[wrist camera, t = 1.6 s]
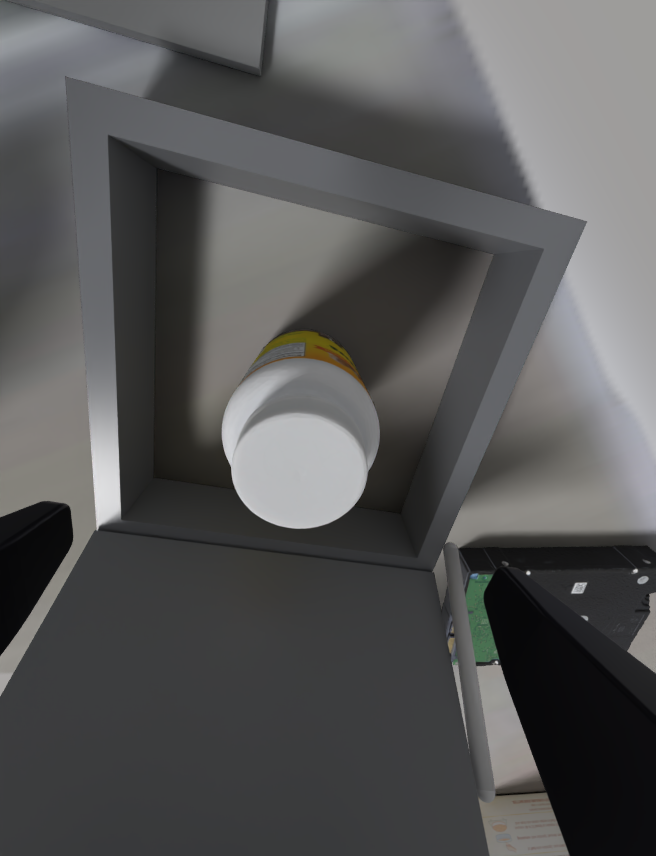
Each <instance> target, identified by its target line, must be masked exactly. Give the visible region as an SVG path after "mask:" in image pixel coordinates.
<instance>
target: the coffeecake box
mask: <svg viewBox="0 0 656 856" xmlns="http://www.w3.org/2000/svg"><path fill="white" fill-rule="evenodd" d="M478 799H479V797H478ZM479 804H480V810H481V815H482V820H483V825H484V830H485V835H486V840H487V845H488V850H489V855H490V856H569V853H568V850H567V848H566V845H565V842H564V839H563V837H562V834H561V831H560V828H559V826H558V823H557V820H556V817H555V815H554V812H553V809H552V807H551V804H550V801H549V798H548V796H547V793H533V794H518V795H503V796H495V798H494V800H493V801H492V802H490V803H485V802H483V801H482V800H480V799H479Z"/></svg>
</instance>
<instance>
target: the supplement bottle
mask: <svg viewBox="0 0 656 856" xmlns="http://www.w3.org/2000/svg"><path fill="white" fill-rule="evenodd" d="M379 441H380V427H379V420H378V415H377V412H376V409H375V406H374V403H373V401H372V399H371V397H370V395H369V393H368V391H367V389H366V387H365V385H364V383H363V381H362V379H361V377H360V375H359V373H358V371H357V369H356V367H355V365H354V363H353V361H352V360H351V358H350V356H349V354H348V353H347V351H346V350H345V349H344V348H343V347H342V346H341V345H340V344H339V343H338V342H337V341H336V340H334V339H333V338H332V337H330V336H328V335H326V334H324V333H321V332H318V331H314V330H305V329H302V330H293V331H289V332H286V333H284V334H281V335H279V336H278V337H276V338H274V339H273V340H272V341H270V342H269V343H268V344H267V345H266V346H265V347H264V348H263V350H262V351H261V352H260V354H259V355H258V357H257V358H256V360H255V361H254V363H253V364H252V366H251V367H250V369H249V370H248V372H247V373H246V375H245V376H244V378H243V379H242V381H241V382H240V384H239V386H238V387H237V388H236V390H235V391H234V393H233V395H232V396H231V398H230V400H229V403H228V405H227V407H226V410H225V413H224V417H223V422H222V442H223V447H224V451H225V454H226V457H227V459H228V462H229V464H230V466H231V473H232V480H233V484H234V486H235V489H236V491H237V493H238V495H239V497H240V498H241V500H242V501H243V503H244V504H245V505H246V506H247V507H248V508H249V509H250V510H251V511H252V512H253V513H254V514H256V515H257V516H259V517H260V518H262V519H264V520H266V521H268V522H270V523H272V524H275V525H278V526H282V527H287V528H296V529H301V528H303V529H305V528H313V527H318V526H321V525H325V524H328V523H330V522H332V521H334V520H336V519H338V518H340V517H341V516H343V515H344V514H345V513H347V512H348V511H349V510H350V509H351V508H352V507H353V506H354V505H355V504H356V502H357V501H358V500H359V498H360V497H361V495H362V493H363V491H364V488H365V485H366V482H367V476H368V471H369V469H370V468H371V466H372V464H373V462H374V460H375V457H376V454H377V451H378V447H379Z"/></svg>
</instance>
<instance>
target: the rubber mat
mask: <svg viewBox="0 0 656 856" xmlns="http://www.w3.org/2000/svg"><path fill="white" fill-rule="evenodd" d="M6 1H9V2H13V3H16V4H19V5H23V6H26V7H30V8H33V9H36V10H40V11H43V12H46V13H50V14H53V15H56V16H60V17H63V18H66V19H70V20H73V21H77V22H80V23H83V24H87V25H90V26H93V27H97V28H100V29H103V30H107V31H110V32H113V33H117V34H120V35H123V36H127V37H130V38H134V39H137V40H140V41H144V42H147V43H150V44H154V45H157V46H160V47H164V48H167V49H170V50H174V51H177V52H181V53H184V54H187V55H191V56H194V57H197V58H201V59H204V60H207V61H211V62H214V63H217V64H221V65H224V66H228V67H231V68H234V69H238V70H241V71H244V72H248V73H251V74H254V75H258V76H261V72H262V62H263V52H264V42H265V33H266V23H267V13H268V3H269V0H6Z"/></svg>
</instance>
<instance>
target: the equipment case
mask: <svg viewBox="0 0 656 856" xmlns="http://www.w3.org/2000/svg"><path fill="white" fill-rule="evenodd" d="M65 80H66V95H67V109H68V123H69V137H70V152H71V166H72V180H73V194H74V209H75V223H76V237H77V251H78V266H79V280H80V294H81V309H82V323H83V337H84V351H85V366H86V380H87V394H88V408H89V423H90V437H91V451H92V465H93V480H94V494H95V508H96V522H97V530H95V531H94V533H93V535H92V536H91V538H90V540H89V542H88V543H87V545H86V547H85V549H84V550H83V552H82V554H81V556H80V557H79V559H78V561H77V563H76V564H75V566H74V568H73V570H72V571H71V573H70V575H69V577H68V578H67V580H66V582H65V584H64V586H63V587H62V589H61V591H60V593H59V594H58V596H57V598H56V600H55V601H54V603H53V605H52V607H51V608H50V610H49V612H48V614H47V615H46V617H45V619H44V621H43V622H42V624H41V626H40V628H39V629H38V631H37V633H36V635H35V637H34V638H33V640H32V642H31V644H30V645H29V647H28V649H27V651H26V652H25V654H24V656H23V658H22V659H21V661H20V663H19V665H18V666H17V668H16V670H15V672H14V673H13V675H12V677H11V679H10V681H9V682H8V684H7V686H6V688H5V690H4V691H3V693H2V695H1V696H0V856H490V855H489V850H488V845H487V840H486V835H485V830H484V825H483V820H482V815H481V810H480V804H479V799H480V800H482V801H483V802H485V803H490V802H492V801H493V800H494V798H495V785H494V779H493V772H492V766H491V759H490V753H489V747H488V740H487V734H486V727H485V721H484V714H483V708H482V701H481V695H480V688H479V682H478V675H477V669H476V662H475V656H474V649H473V643H472V636H471V630H470V623H469V617H468V610H467V604H466V598H465V591H464V585H463V578H462V572H461V565H460V559H459V552H458V547H457V546H456V545H455V544H454V543H452V542H448V543H446V544H445V542H446V540H447V537H448V535H449V533H450V531H451V528H452V526H453V524H454V521H455V519H456V517H457V515H458V512H459V510H460V508H461V506H462V503H463V501H464V499H465V497H466V494H467V492H468V490H469V488H470V485H471V483H472V481H473V478H474V476H475V474H476V472H477V469H478V467H479V465H480V463H481V460H482V458H483V456H484V454H485V451H486V449H487V447H488V445H489V442H490V440H491V438H492V435H493V433H494V431H495V429H496V426H497V424H498V422H499V420H500V417H501V415H502V413H503V411H504V408H505V406H506V404H507V402H508V399H509V397H510V395H511V393H512V390H513V388H514V386H515V383H516V381H517V379H518V377H519V374H520V372H521V370H522V368H523V365H524V363H525V361H526V359H527V356H528V354H529V352H530V350H531V347H532V345H533V343H534V340H535V338H536V336H537V334H538V331H539V329H540V327H541V325H542V322H543V320H544V318H545V316H546V313H547V311H548V309H549V307H550V304H551V302H552V300H553V297H554V295H555V293H556V291H557V288H558V286H559V284H560V282H561V279H562V277H563V275H564V273H565V270H566V268H567V266H568V263H569V261H570V259H571V256H572V254H573V252H574V250H575V248H576V245H577V243H578V241H579V239H580V236H581V234H582V232H583V230H584V227H585V225H586V223H587V221H583V220H580V219H576V218H573V217H569V216H565V215H562V214H558V213H555V212H551V211H547V210H544V209H540V208H537V207H533V206H529V205H526V204H522V203H519V202H515V201H512V200H508V199H504V198H501V197H497V196H494V195H490V194H486V193H483V192H479V191H476V190H472V189H468V188H465V187H461V186H458V185H454V184H450V183H447V182H443V181H440V180H436V179H432V178H429V177H425V176H422V175H418V174H414V173H411V172H407V171H404V170H400V169H396V168H393V167H389V166H386V165H382V164H378V163H375V162H371V161H368V160H364V159H360V158H357V157H353V156H350V155H346V154H342V153H339V152H335V151H332V150H328V149H325V148H321V147H317V146H314V145H310V144H307V143H303V142H299V141H296V140H292V139H289V138H285V137H281V136H278V135H274V134H271V133H267V132H263V131H260V130H256V129H253V128H249V127H245V126H242V125H238V124H235V123H231V122H227V121H224V120H220V119H217V118H213V117H209V116H206V115H202V114H199V113H195V112H191V111H188V110H184V109H181V108H177V107H173V106H170V105H166V104H163V103H159V102H155V101H152V100H148V99H145V98H141V97H138V96H134V95H130V94H127V93H123V92H120V91H116V90H112V89H109V88H105V87H102V86H98V85H94V84H91V83H87V82H84V81H80V80H76V79H73V78H69V77H66V76H65ZM157 168H158V169H162V170H166V171H170V172H174V173H178V174H182V175H186V176H190V177H194V178H197V179H201V180H205V181H209V182H213V183H217V184H221V185H225V186H229V187H233V188H237V189H241V190H245V191H248V192H252V193H256V194H260V195H264V196H268V197H272V198H276V199H280V200H284V201H288V202H292V203H296V204H300V205H303V206H307V207H311V208H315V209H319V210H323V211H327V212H331V213H335V214H339V215H343V216H347V217H351V218H354V219H358V220H362V221H366V222H370V223H374V224H378V225H382V226H386V227H390V228H394V229H398V230H402V231H405V232H409V233H413V234H417V235H421V236H425V237H429V238H433V239H437V240H441V241H445V242H449V243H453V244H457V245H460V246H464V247H468V248H472V249H476V250H480V251H484V252H488V253H492V254H494V256H493V259H492V262H491V264H490V267H489V270H488V273H487V275H486V278H485V281H484V284H483V287H482V289H481V292H480V295H479V298H478V300H477V303H476V306H475V309H474V312H473V314H472V317H471V320H470V323H469V325H468V328H467V331H466V334H465V336H464V339H463V342H462V345H461V348H460V350H459V353H458V356H457V359H456V361H455V364H454V367H453V370H452V373H451V375H450V378H449V381H448V384H447V386H446V389H445V392H444V395H443V397H442V400H441V403H440V406H439V409H438V411H437V414H436V417H435V420H434V422H433V425H432V428H431V431H430V433H429V436H428V439H427V442H426V445H425V447H424V450H423V453H422V456H421V458H420V461H419V464H418V467H417V470H416V472H415V475H414V478H413V481H412V483H411V486H410V489H409V492H408V494H407V497H406V500H405V503H404V506H403V508H402V511H401V514H399V513H393V512H386V511H379V510H372V509H365V508H358V507H352V508H351V509H350V510H349V511H348V512H347V513H345V514H344V515H343V516H341V517H340V518H338V519H336V520H334V521H332V522H330V523H328V524H325V525H321V526H318V527H313V528H305V529H303V528H301V529H296V528H287V527H282V526H278V525H275V524H272V523H270V522H268V521H266V520H264V519H262V518H260V517H259V516H257V515H256V514H254V513H253V512H252V511H251V510H250V509H249V508H248V507H247V506H246V505H245V504H244V503H243V501H242V500H241V498H240V497H239V495H238V493H237V491H236V490H235V489H228V488H221V487H214V486H208V485H201V484H194V483H187V482H180V481H173V480H166V479H160V478H153V477H154V384H155V292H156V199H157ZM444 544H445V545H444ZM443 546H444V547H443ZM442 549H443V551H444V559H445V567H446V574H447V582H448V590H449V597H450V605H451V613H452V621H453V628H454V636H455V644H456V651H457V659H458V667H459V675H460V682H461V690H462V698H463V705H464V713H465V721H466V729H467V736H468V743H467V738H466V733H465V728H464V723H463V718H462V713H461V708H460V703H459V697H458V692H457V687H456V682H455V677H454V672H453V667H452V662H451V657H450V652H449V647H448V641H447V636H446V631H445V626H444V621H443V616H442V611H441V606H440V601H439V596H438V591H437V585H436V580H435V575H434V572H432V571H433V569H434V567H435V564H436V562H437V560H438V558H439V555H440V553H441V551H442ZM468 744H469V748H468ZM469 752H470V754H469ZM478 797H479V799H478Z"/></svg>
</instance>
